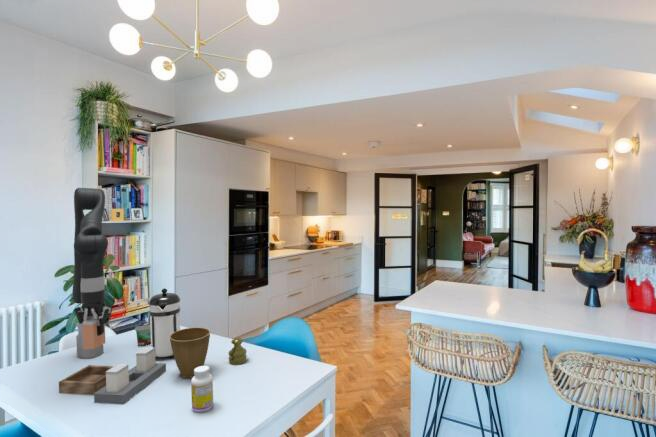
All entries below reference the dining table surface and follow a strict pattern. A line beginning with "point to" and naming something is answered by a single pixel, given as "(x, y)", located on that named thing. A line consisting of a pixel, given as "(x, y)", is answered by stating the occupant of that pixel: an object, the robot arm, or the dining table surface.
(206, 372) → the supplement bottle
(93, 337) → the block
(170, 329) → the coffee press
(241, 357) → the olive green lumpy piece
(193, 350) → the plant pot
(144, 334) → the food container
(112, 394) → the frame
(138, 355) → the block
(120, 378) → the block
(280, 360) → the dining table surface
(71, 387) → the tray
